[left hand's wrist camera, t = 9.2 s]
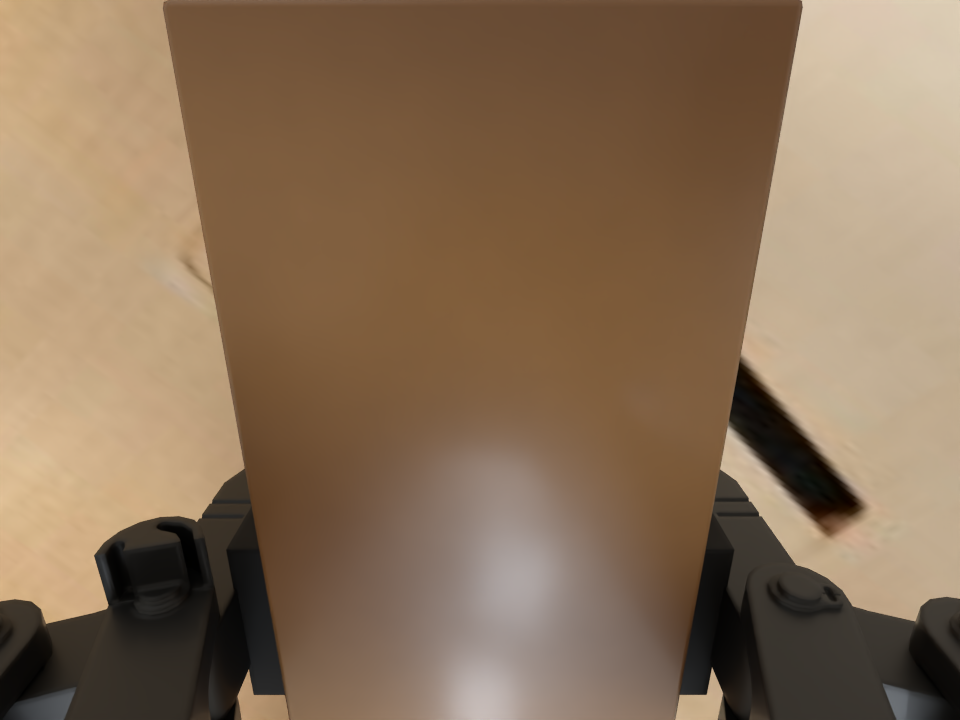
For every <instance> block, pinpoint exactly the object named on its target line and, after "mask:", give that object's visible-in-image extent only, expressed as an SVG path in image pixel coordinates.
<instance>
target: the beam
mask: <svg viewBox="0 0 960 720" xmlns="http://www.w3.org/2000/svg"><path fill="white" fill-rule="evenodd" d="M802 8H803V7H802V1H801V0H167V1H165V2H164V5H163V11H164V16H165V22H166V28H167V33H168V39H169V44H170V50H171V56H172V61H173V67H174V73H175V78H176V84H177V89H178V95H179V101H180V106H181V112H182V118H183V123H184V129H185V134H186V140H187V146H188V151H189V157H190V163H191V168H192V174H193V179H194V185H195V191H196V196H197V202H198V208H199V213H200V219H201V224H202V230H203V236H204V241H205V247H206V253H207V258H208V264H209V269H210V275H211V281H212V286H213V292H214V298H215V303H216V309H217V314H218V320H219V326H220V331H221V337H222V343H223V348H224V354H225V359H226V365H227V371H228V376H229V382H230V388H231V393H232V399H233V404H234V410H235V416H236V421H237V427H238V433H239V438H240V444H241V449H242V455H243V461H244V466H245V472H246V478H247V483H248V489H249V494H250V500H251V506H252V511H253V517H254V523H255V528H256V534H257V539H258V545H259V551H260V556H261V562H262V568H263V573H264V579H265V584H266V590H267V596H268V601H269V607H270V613H271V618H272V624H273V629H274V635H275V641H276V646H277V652H278V658H279V663H280V669H281V674H282V680H283V686H284V691H285V697H286V703H287V708H288V714H289V719H290V720H675V718H676V712H677V706H678V701H679V695H680V690H681V684H682V679H683V673H684V667H685V662H686V656H687V651H688V645H689V639H690V634H691V628H692V623H693V617H694V611H695V606H696V600H697V595H698V589H699V583H700V578H701V572H702V567H703V561H704V556H705V550H706V544H707V539H708V533H709V528H710V522H711V516H712V511H713V505H714V500H715V494H716V488H717V483H718V477H719V472H720V466H721V461H722V455H723V449H724V444H725V438H726V433H727V427H728V421H729V416H730V410H731V405H732V399H733V393H734V388H735V382H736V377H737V371H738V365H739V360H740V354H741V349H742V343H743V338H744V332H745V326H746V321H747V315H748V310H749V304H750V298H751V293H752V287H753V282H754V276H755V270H756V265H757V259H758V254H759V248H760V243H761V237H762V231H763V226H764V220H765V215H766V209H767V203H768V198H769V192H770V187H771V181H772V175H773V170H774V164H775V159H776V153H777V147H778V142H779V136H780V131H781V125H782V120H783V114H784V108H785V103H786V97H787V92H788V86H789V80H790V75H791V69H792V64H793V58H794V52H795V47H796V41H797V36H798V30H799V25H800V19H801V13H802Z"/></svg>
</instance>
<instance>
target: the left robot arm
mask: <svg viewBox="0 0 960 720" xmlns="http://www.w3.org/2000/svg"><path fill="white" fill-rule="evenodd" d="M94 557H95V560H96V563H97V567H98V570H99V574H100V577H101V580H102V584H103V587H104V591H105V594H106V598H107V601H108V604H109V606H108V608H107V609H106V610H102V611H99V612H96V613H92V614H88V615H83V616H79V617H75V618H70V619H66V620H61V621H57V622H53V623H48V624H46V623H45V620H44V617H43V614H42V611H41V609H40V608H39V607H37V606H36V605H35V604H34V603H32V602H30V601H23V600H16V599H14V600H8V601H1V602H0V720H241V713H240V707H239V702H238V697H237V696H238V693H239V691H240V688H241V686H242V684H243V681H244V679H245V677H246V674H247V672H248V669H249V672H250V677H251V682H252V687H253V693H254V695H285V691H284V686H283V680H282V674H281V669H280V663H279V658H278V652H277V646H276V641H275V635H274V629H273V624H272V618H271V613H270V607H269V601H268V596H267V590H266V584H265V579H264V573H263V568H262V562H261V556H260V551H259V545H258V539H257V534H256V528H255V523H254V517H253V511H252V506H251V500H250V494H249V489H248V483H247V478H246V472H245V469H244V470H242V471H241V472H239V473H238V474H237V475H235V476H234V477H232V478H231V479H229V480H228V481H227V482H225V483H224V485H223V486H222V487H221V489H220V490H219V492H218V493H217V494H216V496H215V497H214V499H213V500H212V504H209V506H208V507H207V509H206V510H205V512H204V513H203V514H202V519H199V520H198V521H197V522H196V521H195V520H192V519H188V518H184V517H180V516H176V517H159V518H155V519H151V520H147V521H143V522H139V523H137V524H135V525H133V526H131V527H128V528H126V529H124V530H122V531H120V532H118V533H117V534H116V535H114V536H113V537H111V538H110V539H109V540H107V541H106V542H104V544H103V545H102V546H101V547H100V549H99V550H98V551H97V553H96V554H95V555H94ZM712 668H713V670H714V672H715V675H716V677H717V679H718V682H719V684H720V687H721V689H722V691H723V697H722V702H721V706H720V711H719V716H718V720H960V599H957V598H950V597H943V598H936V599H930V600H929V601H927V602H926V603H925V604H924V605H922V606H921V608H920V610H919V613H918V616H917V619H916V622H914V621H910V620H906V619H901V618H897V617H892V616H888V615H884V614H879V613H875V612H870V611H867V610H863V609H860V608H856V607H853V606H852V605H851V603H850V602H849V600H848V598H847V597H846V595H845V594H844V592H843V591H842V590H841V589H840V588H838V587H837V586H836V585H835V584H834V583H832V582H831V581H830V580H829V579H827V578H826V577H824V576H822V575H820V574H818V573H816V572H814V571H812V570H810V569H808V568H804V567H801V566H797V565H795V563H794V562H793V560H792V559H791V558H790V556H789V555H788V553H787V552H786V550H785V549H784V548H783V546H782V545H781V543H780V542H779V541H778V539H777V538H776V536H775V535H774V534H773V532H772V531H771V529H770V528H769V526H768V525H767V524H766V522H765V521H764V519H763V518H762V517H761V516H759V512H758V511H757V509H756V508H755V507H754V505H753V504H752V502H749V498H748V497H747V495H746V494H745V493H744V491H743V490H742V488H741V487H740V485H739V484H738V483H737V481H736V480H734V479H733V478H731V477H730V476H729V475H727V474H726V473H724V472H723V471H721V470H720V472H719V477H718V483H717V488H716V494H715V500H714V505H713V511H712V516H711V522H710V528H709V533H708V539H707V544H706V550H705V556H704V561H703V567H702V572H701V578H700V583H699V589H698V595H697V600H696V606H695V611H694V617H693V623H692V628H691V634H690V639H689V645H688V651H687V656H686V662H685V667H684V673H683V679H682V684H681V690H680V695H707V690H708V685H709V680H710V675H711V669H712Z"/></svg>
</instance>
